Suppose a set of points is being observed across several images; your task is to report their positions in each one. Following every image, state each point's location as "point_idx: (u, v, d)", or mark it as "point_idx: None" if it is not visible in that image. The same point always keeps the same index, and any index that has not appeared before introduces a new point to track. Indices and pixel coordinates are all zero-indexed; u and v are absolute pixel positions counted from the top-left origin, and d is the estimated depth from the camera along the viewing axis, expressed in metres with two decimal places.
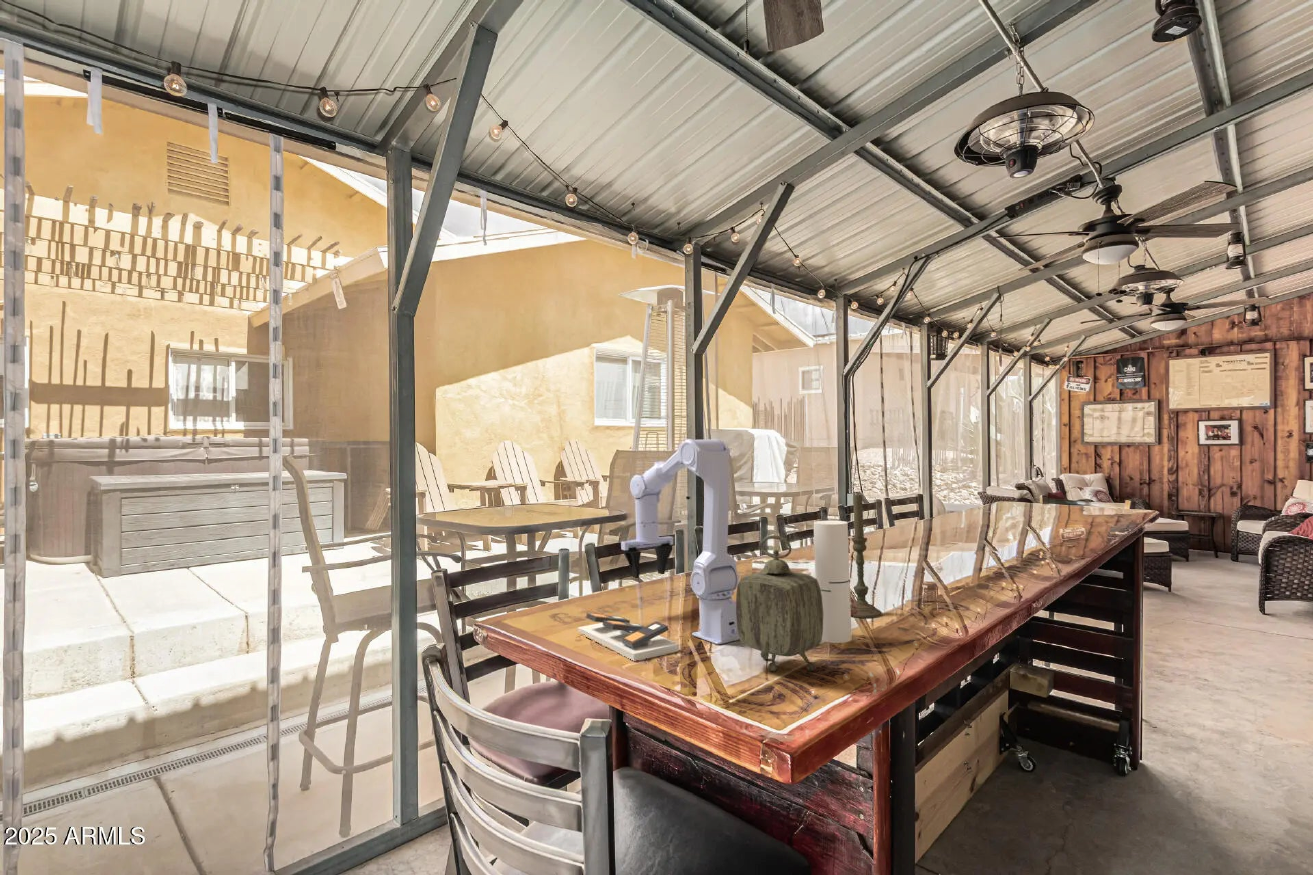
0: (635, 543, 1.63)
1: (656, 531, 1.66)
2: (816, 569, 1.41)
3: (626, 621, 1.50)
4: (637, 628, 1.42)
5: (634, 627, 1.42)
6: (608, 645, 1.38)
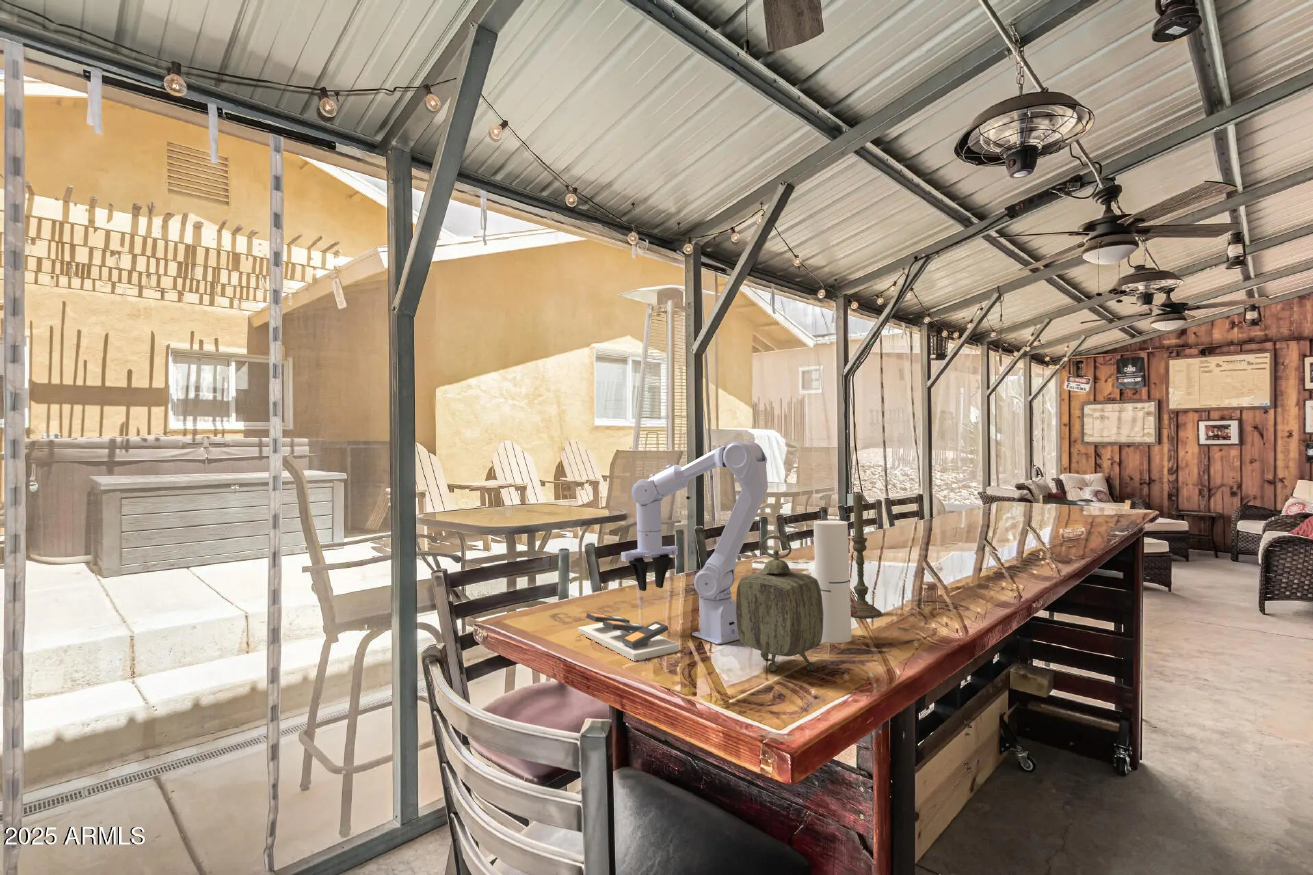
0: (636, 554, 1.49)
1: (659, 540, 1.52)
2: (816, 569, 1.41)
3: (626, 621, 1.50)
4: (637, 628, 1.42)
5: (634, 627, 1.42)
6: (608, 645, 1.38)
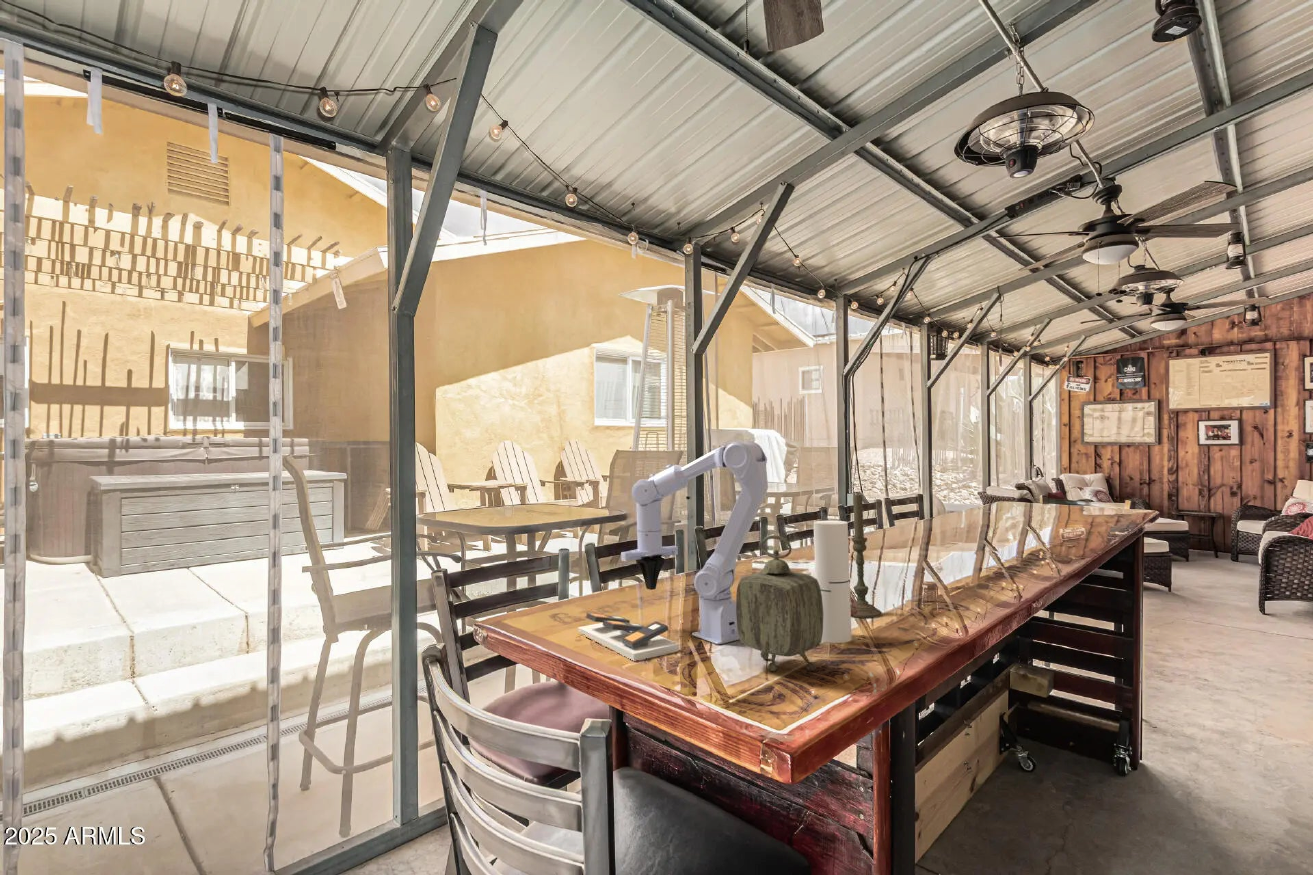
0: (636, 554, 1.49)
1: (659, 540, 1.52)
2: (816, 569, 1.41)
3: (626, 621, 1.50)
4: (637, 628, 1.42)
5: (634, 627, 1.42)
6: (608, 645, 1.38)
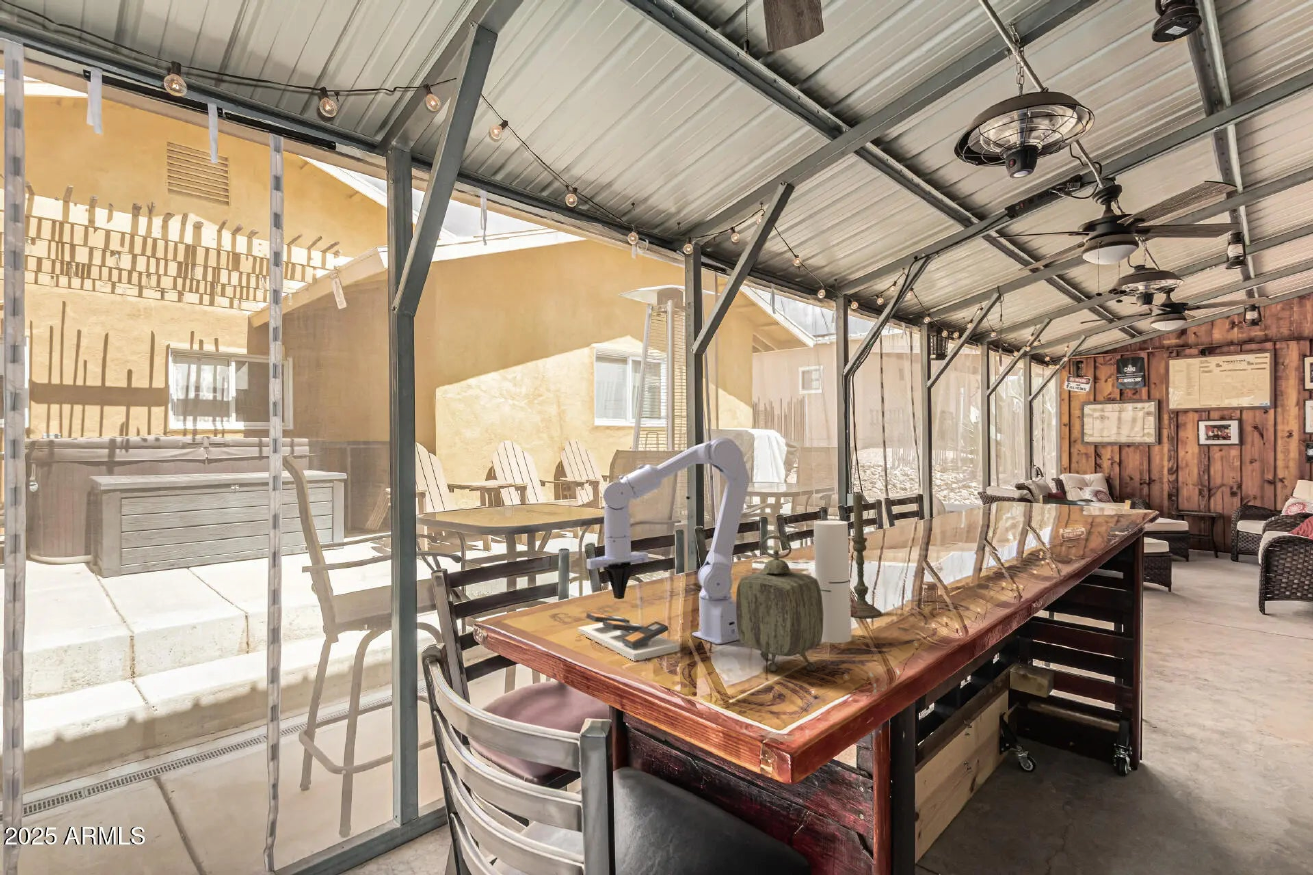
0: (603, 561, 1.40)
1: (628, 547, 1.43)
2: (816, 569, 1.41)
3: (626, 621, 1.50)
4: (637, 628, 1.42)
5: (634, 627, 1.42)
6: (608, 645, 1.38)
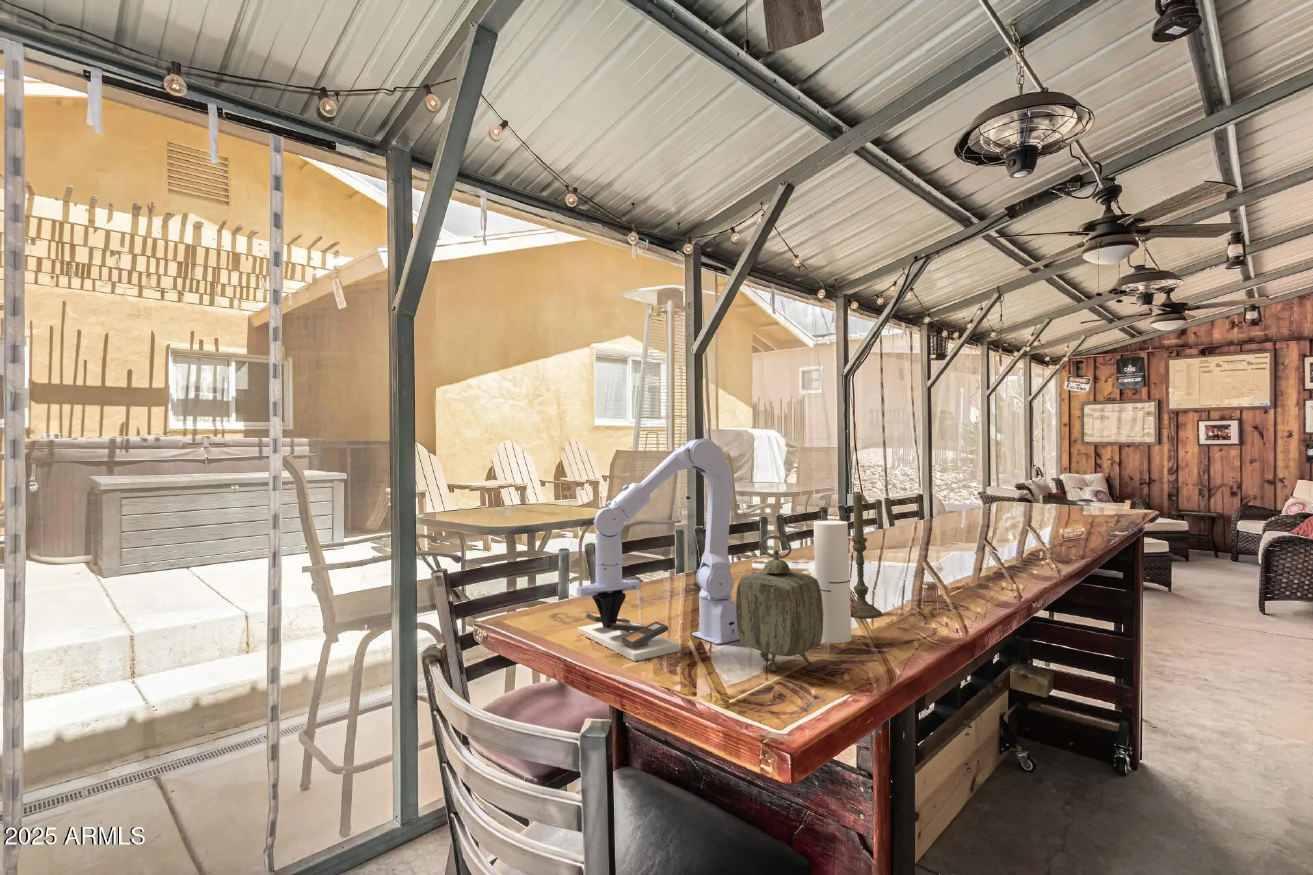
0: (593, 589, 1.38)
1: (619, 575, 1.40)
2: (816, 569, 1.41)
3: (626, 621, 1.50)
4: (637, 628, 1.42)
5: (634, 627, 1.42)
6: (608, 645, 1.38)
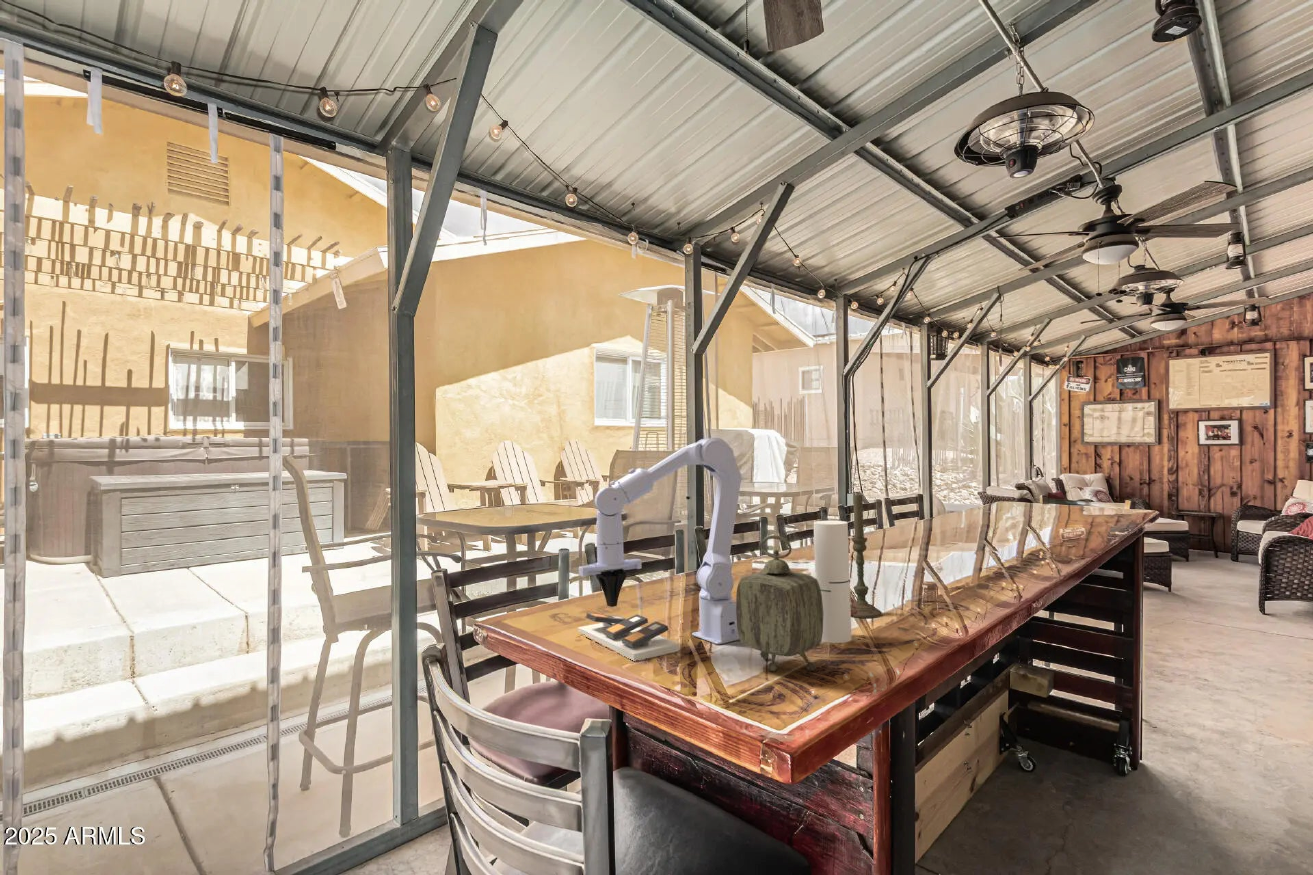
0: (595, 568, 1.38)
1: (620, 554, 1.40)
2: (816, 569, 1.41)
3: None
4: (637, 624, 1.42)
5: (633, 625, 1.42)
6: (608, 645, 1.38)
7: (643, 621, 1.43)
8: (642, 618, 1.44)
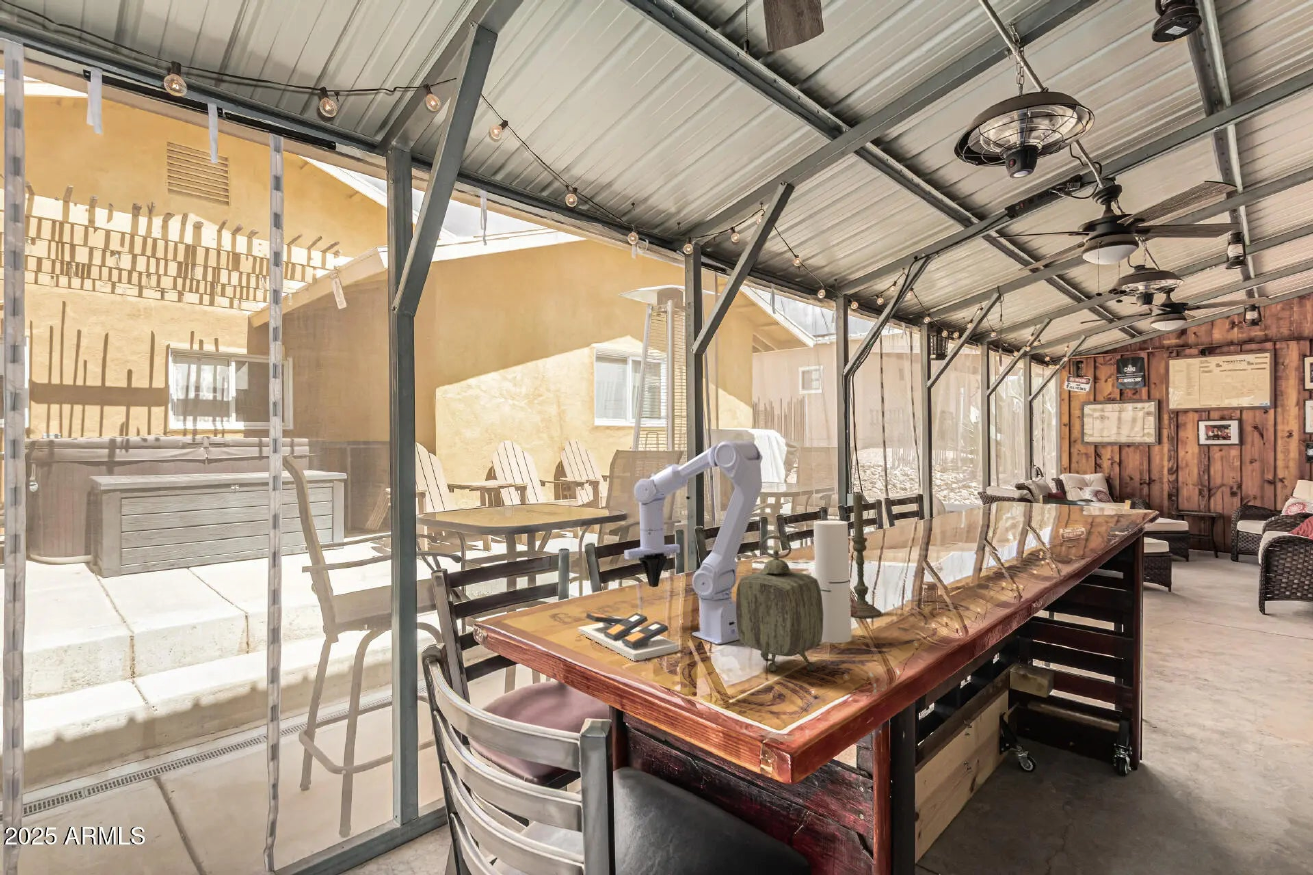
0: (639, 552, 1.52)
1: (662, 539, 1.55)
2: (816, 569, 1.41)
3: None
4: (636, 624, 1.42)
5: (633, 625, 1.42)
6: (608, 645, 1.38)
7: (643, 620, 1.43)
8: (641, 617, 1.44)
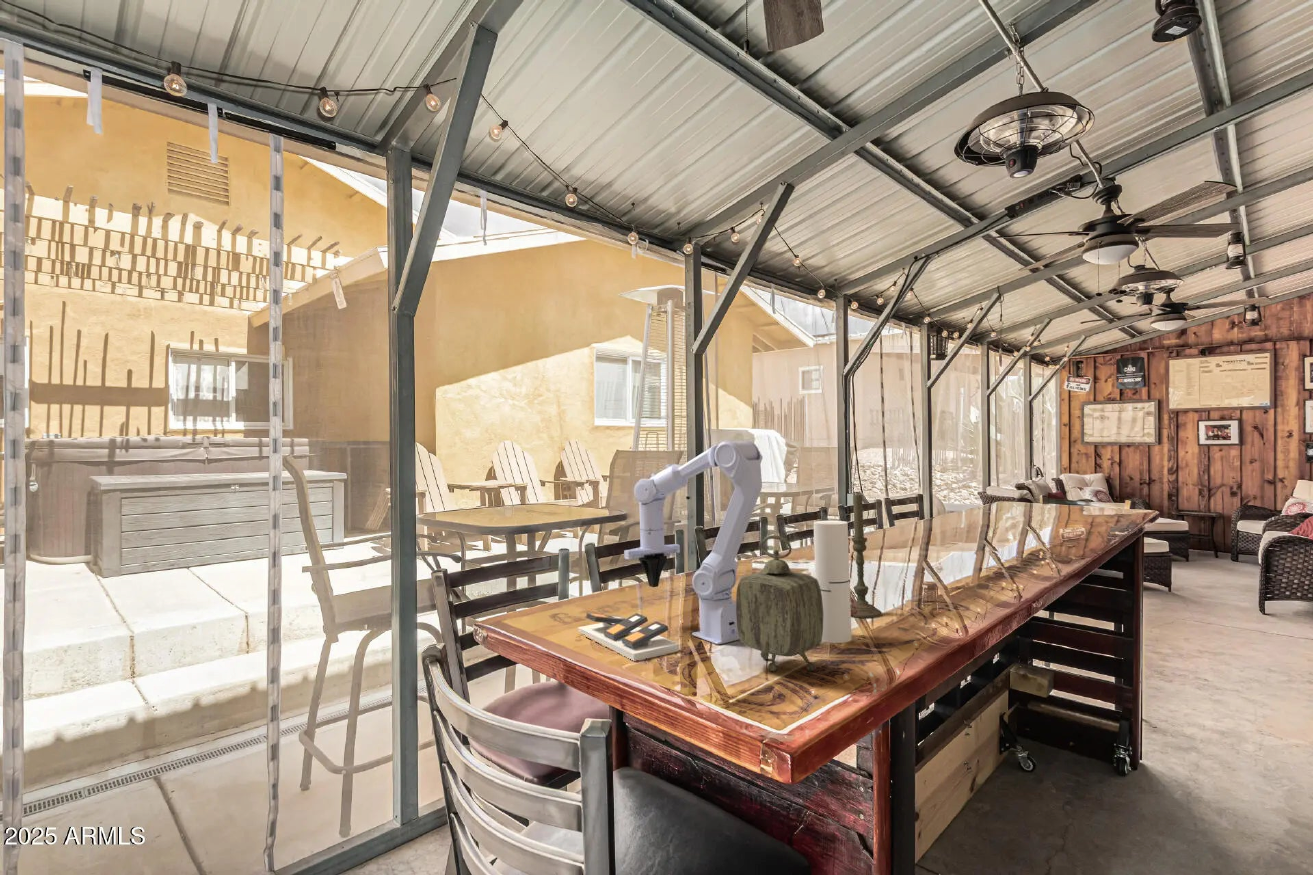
0: (639, 552, 1.52)
1: (662, 539, 1.55)
2: (816, 569, 1.41)
3: None
4: (637, 624, 1.42)
5: (633, 625, 1.42)
6: (608, 645, 1.38)
7: (643, 620, 1.43)
8: (642, 617, 1.44)
